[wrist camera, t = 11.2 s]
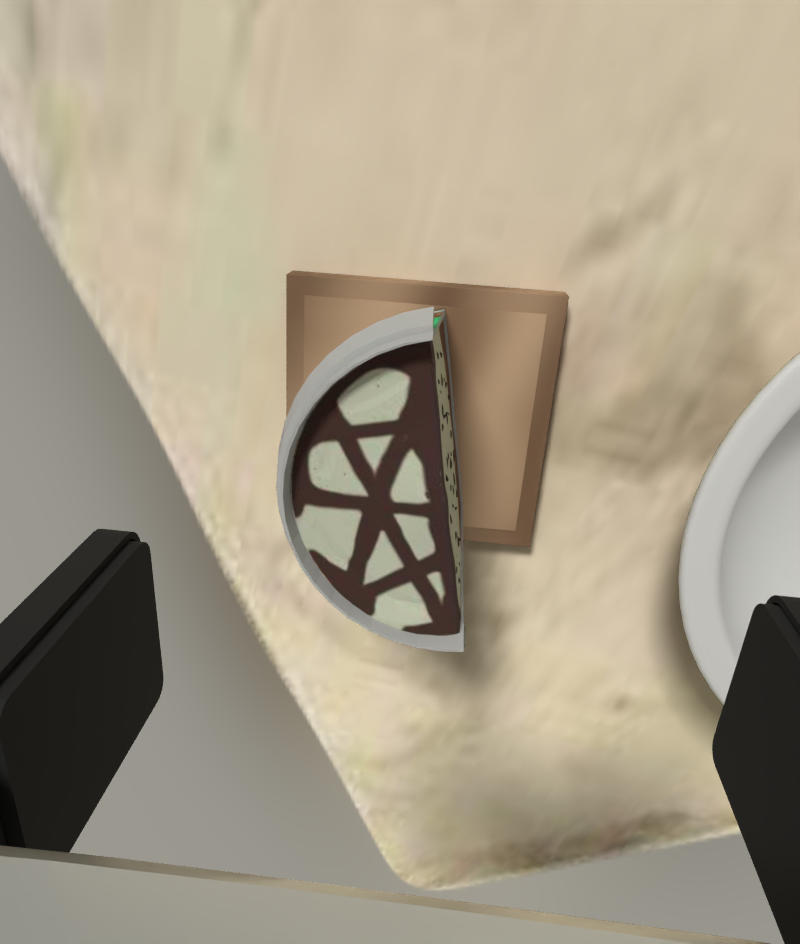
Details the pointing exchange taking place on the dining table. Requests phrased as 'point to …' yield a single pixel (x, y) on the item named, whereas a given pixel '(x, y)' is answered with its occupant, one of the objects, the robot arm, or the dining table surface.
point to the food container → (380, 482)
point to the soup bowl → (743, 529)
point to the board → (457, 376)
